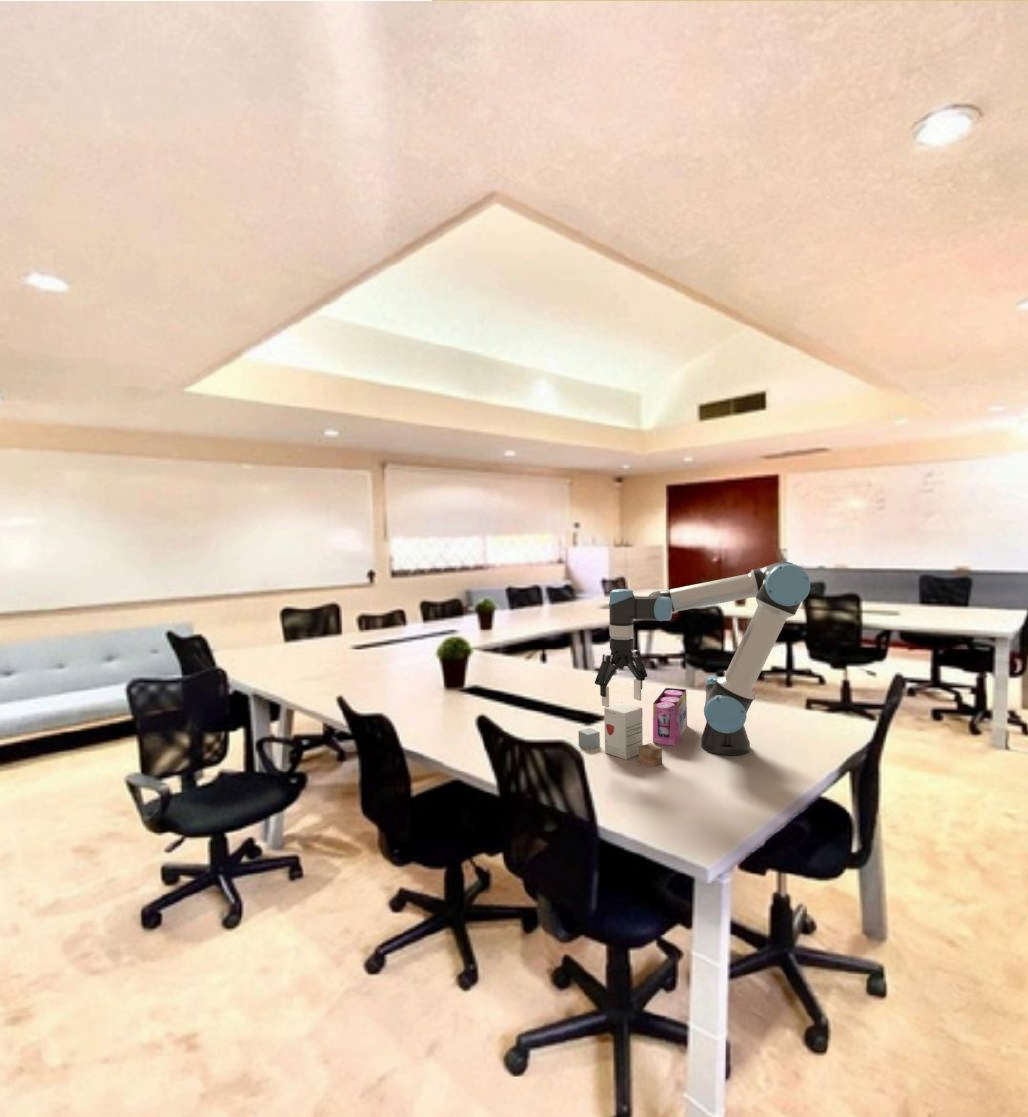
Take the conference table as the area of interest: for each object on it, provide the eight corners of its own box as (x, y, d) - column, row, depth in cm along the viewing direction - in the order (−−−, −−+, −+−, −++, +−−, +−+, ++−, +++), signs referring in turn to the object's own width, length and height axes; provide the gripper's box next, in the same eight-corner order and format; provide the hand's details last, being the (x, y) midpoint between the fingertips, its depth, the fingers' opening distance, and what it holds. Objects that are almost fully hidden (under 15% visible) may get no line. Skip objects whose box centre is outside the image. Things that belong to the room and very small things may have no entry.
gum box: (675, 747, 197) (674, 706, 197) (651, 744, 201) (650, 704, 200) (687, 725, 219) (687, 689, 218) (665, 723, 222) (665, 687, 222)
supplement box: (603, 752, 194) (602, 707, 194) (621, 746, 200) (621, 701, 199) (625, 760, 187) (625, 713, 187) (643, 753, 193) (643, 707, 192)
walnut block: (650, 758, 188) (650, 743, 188) (662, 763, 184) (661, 747, 184) (638, 762, 186) (638, 746, 185) (650, 767, 181) (649, 751, 181)
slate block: (590, 742, 204) (590, 728, 204) (599, 746, 200) (599, 732, 200) (578, 745, 202) (578, 730, 201) (588, 749, 197) (587, 734, 197)
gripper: (642, 632, 202) (642, 694, 203) (583, 639, 189) (583, 706, 190) (658, 635, 195) (658, 699, 196) (598, 643, 182) (599, 712, 183)
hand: (621, 703), depth 193 cm, fingers open, 13 cm apart
